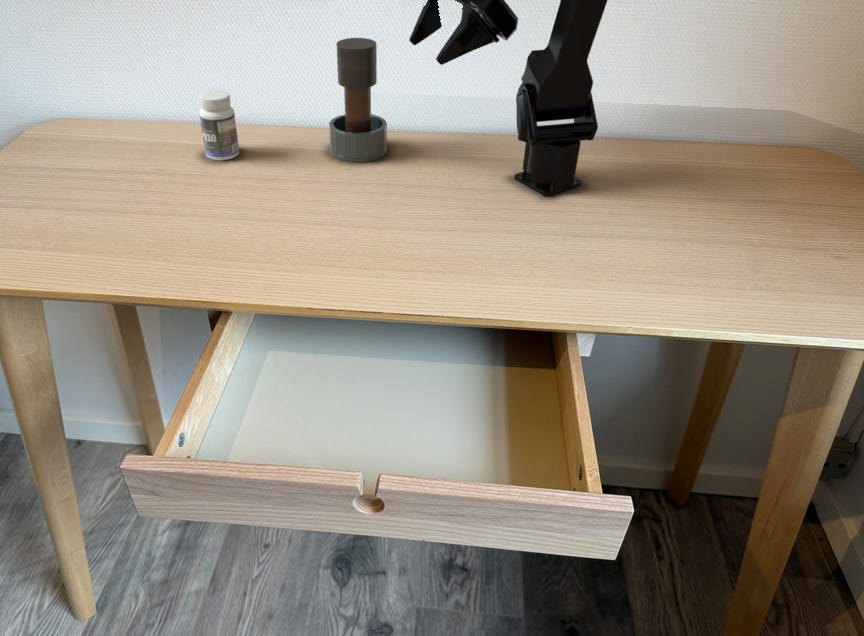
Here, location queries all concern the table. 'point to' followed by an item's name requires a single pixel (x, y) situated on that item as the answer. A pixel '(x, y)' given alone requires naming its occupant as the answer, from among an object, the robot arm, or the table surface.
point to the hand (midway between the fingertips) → (424, 52)
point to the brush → (357, 80)
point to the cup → (358, 140)
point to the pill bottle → (218, 125)
